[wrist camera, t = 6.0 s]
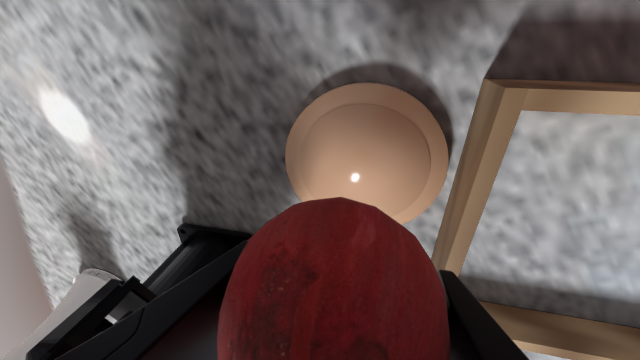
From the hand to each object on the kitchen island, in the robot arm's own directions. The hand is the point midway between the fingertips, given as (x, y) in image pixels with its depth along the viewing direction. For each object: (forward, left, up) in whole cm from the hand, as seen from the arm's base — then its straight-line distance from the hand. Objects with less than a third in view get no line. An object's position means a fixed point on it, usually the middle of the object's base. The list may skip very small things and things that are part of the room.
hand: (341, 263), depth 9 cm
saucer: (0, 0, -8) cm, 8 cm away
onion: (0, 0, -2) cm, 2 cm away
